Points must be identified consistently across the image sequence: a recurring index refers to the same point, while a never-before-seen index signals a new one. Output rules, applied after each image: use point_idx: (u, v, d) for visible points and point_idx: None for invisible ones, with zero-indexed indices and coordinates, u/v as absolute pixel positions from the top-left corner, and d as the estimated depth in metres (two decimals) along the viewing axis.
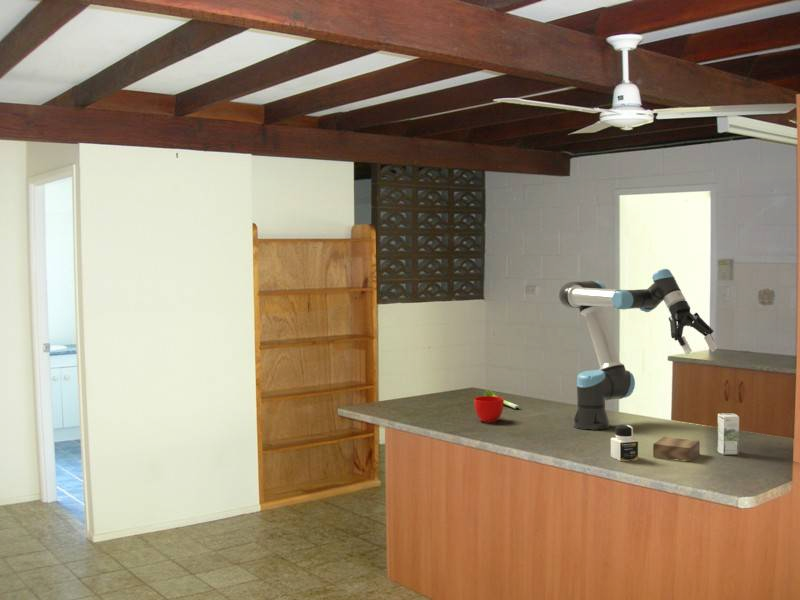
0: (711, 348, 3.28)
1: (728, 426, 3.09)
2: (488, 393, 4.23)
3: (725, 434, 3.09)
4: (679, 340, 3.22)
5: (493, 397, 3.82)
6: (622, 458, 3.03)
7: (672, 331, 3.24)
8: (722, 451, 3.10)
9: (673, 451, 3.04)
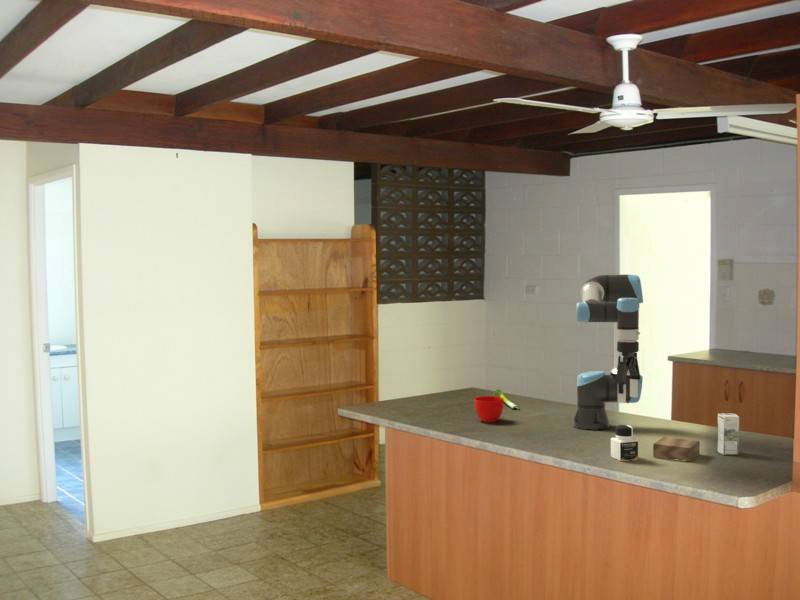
0: (631, 393, 3.12)
1: (728, 426, 3.09)
2: None
3: (725, 434, 3.09)
4: (620, 387, 2.99)
5: (493, 397, 3.82)
6: (622, 458, 3.03)
7: (618, 375, 2.98)
8: (722, 451, 3.10)
9: (673, 451, 3.04)
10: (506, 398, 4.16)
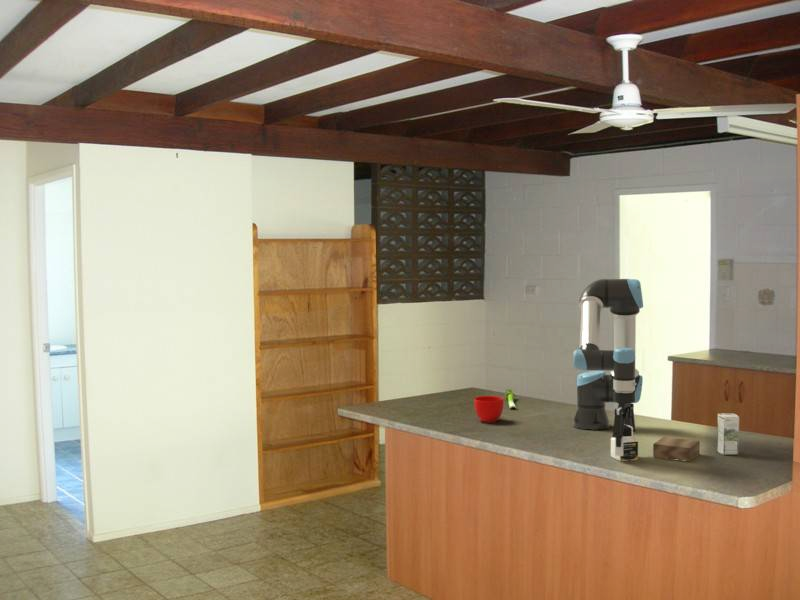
0: None
1: (728, 426, 3.09)
2: (506, 392, 4.25)
3: (725, 434, 3.09)
4: (617, 441, 3.01)
5: (493, 397, 3.82)
6: (622, 458, 3.03)
7: (616, 430, 3.00)
8: (722, 451, 3.10)
9: (673, 451, 3.04)
10: (511, 398, 4.16)
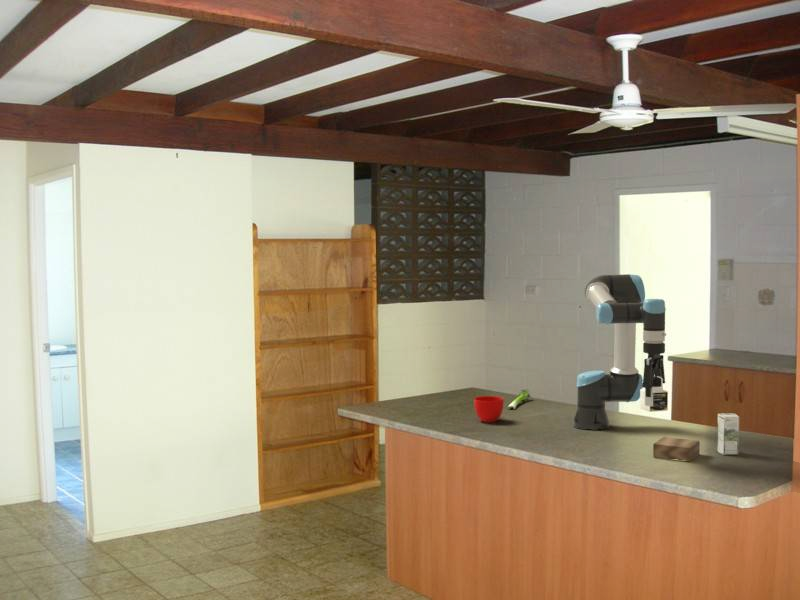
0: None
1: (728, 426, 3.09)
2: None
3: (725, 434, 3.09)
4: (647, 391, 3.01)
5: (493, 397, 3.82)
6: (652, 409, 3.03)
7: (645, 379, 3.00)
8: (722, 451, 3.10)
9: (673, 451, 3.04)
10: (518, 398, 4.15)
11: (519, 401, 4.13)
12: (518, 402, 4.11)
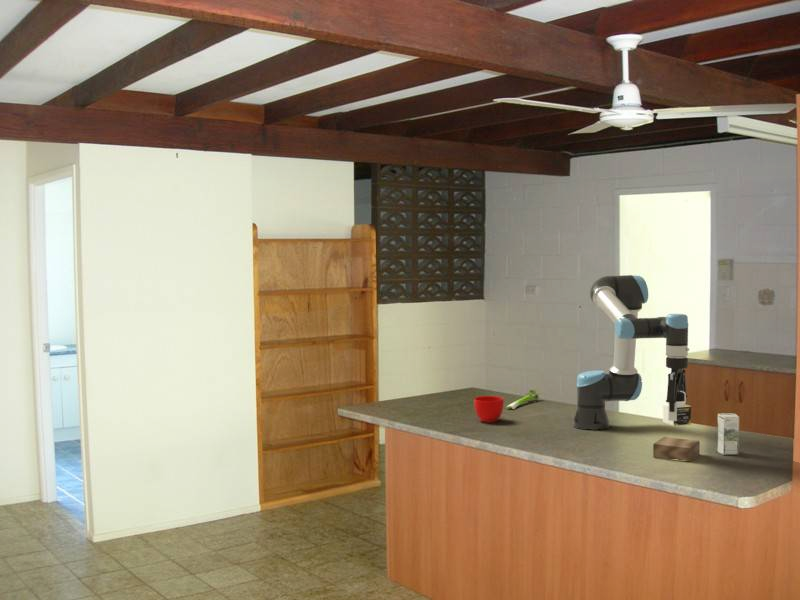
0: None
1: (728, 426, 3.09)
2: None
3: (725, 434, 3.09)
4: (671, 405, 3.03)
5: (493, 397, 3.82)
6: (675, 423, 3.05)
7: (669, 394, 3.02)
8: (722, 451, 3.10)
9: (673, 451, 3.04)
10: (522, 398, 4.14)
11: (522, 401, 4.12)
12: (521, 402, 4.10)
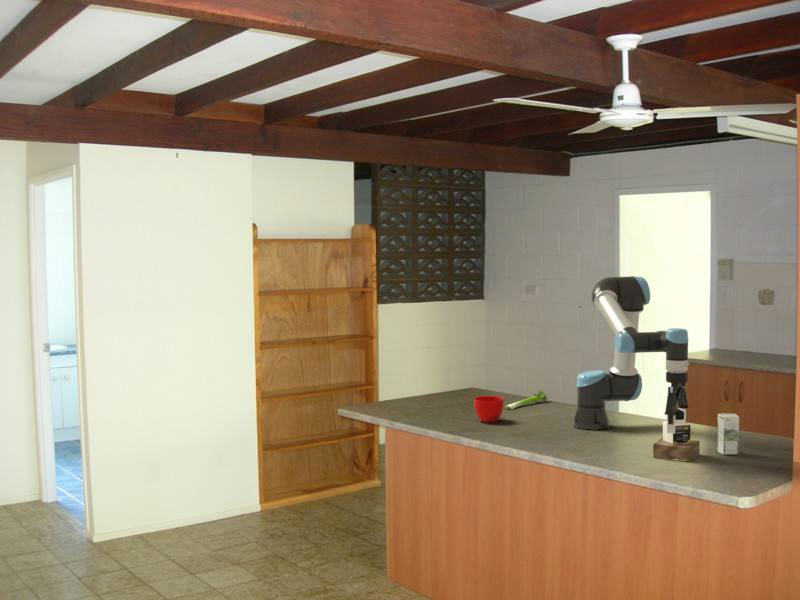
0: None
1: (728, 426, 3.09)
2: None
3: (725, 434, 3.09)
4: (670, 418, 3.02)
5: (493, 397, 3.82)
6: (675, 442, 3.06)
7: (668, 407, 3.01)
8: (722, 451, 3.10)
9: (673, 451, 3.04)
10: (526, 399, 4.12)
11: (526, 402, 4.11)
12: (523, 403, 4.09)
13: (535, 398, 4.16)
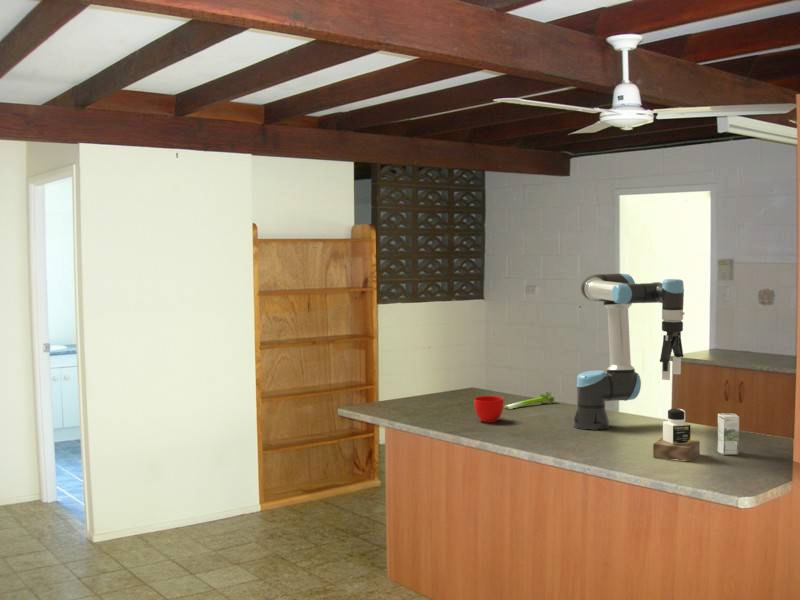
0: (674, 371, 3.25)
1: (728, 426, 3.09)
2: None
3: (725, 434, 3.09)
4: (664, 365, 3.12)
5: (493, 397, 3.82)
6: (675, 442, 3.06)
7: (663, 354, 3.11)
8: (722, 451, 3.10)
9: (673, 451, 3.04)
10: (529, 400, 4.10)
11: (528, 402, 4.09)
12: (525, 403, 4.08)
13: (540, 399, 4.13)
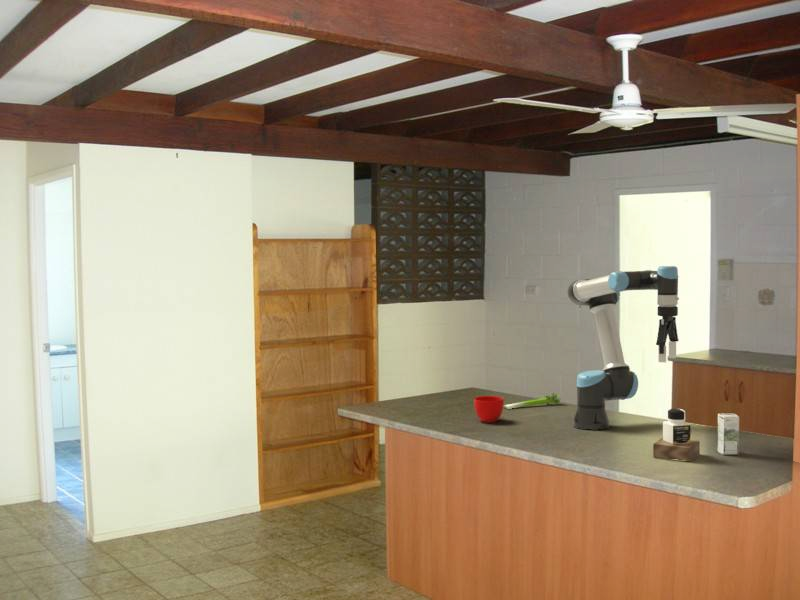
0: (670, 355, 3.38)
1: (728, 426, 3.09)
2: (548, 396, 4.13)
3: (725, 434, 3.09)
4: (661, 348, 3.25)
5: (493, 397, 3.82)
6: (675, 442, 3.06)
7: (659, 337, 3.24)
8: (722, 451, 3.10)
9: (673, 451, 3.04)
10: (532, 400, 4.08)
11: (530, 403, 4.07)
12: (527, 404, 4.06)
13: (544, 400, 4.10)
